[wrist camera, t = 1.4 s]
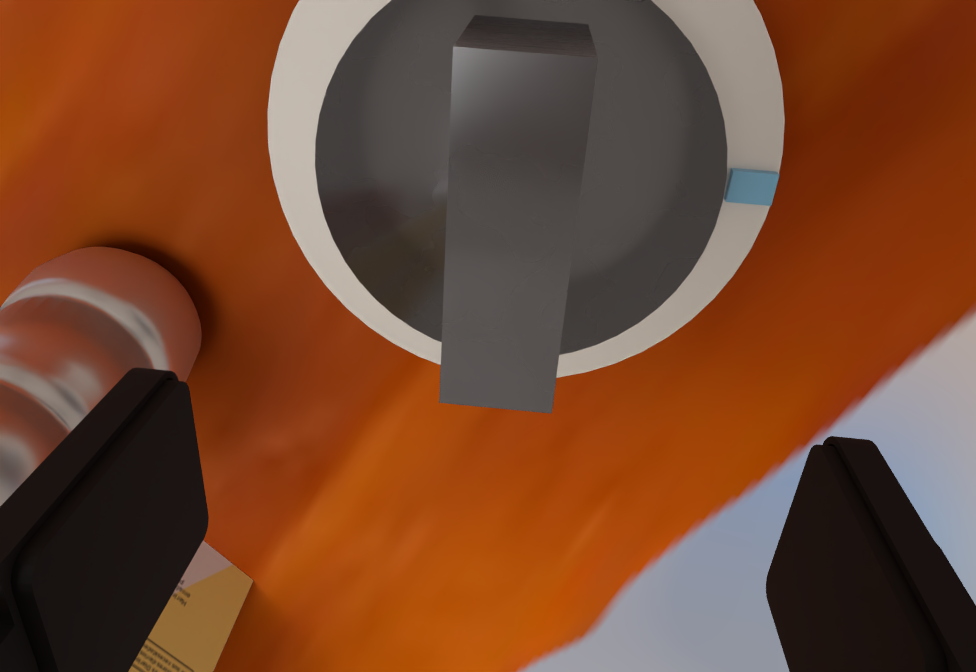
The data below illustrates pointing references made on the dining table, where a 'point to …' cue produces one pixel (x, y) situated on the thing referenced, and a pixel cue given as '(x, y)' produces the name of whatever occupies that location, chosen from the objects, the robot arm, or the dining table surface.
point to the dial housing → (747, 197)
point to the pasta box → (196, 617)
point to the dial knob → (520, 178)
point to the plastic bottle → (83, 345)
